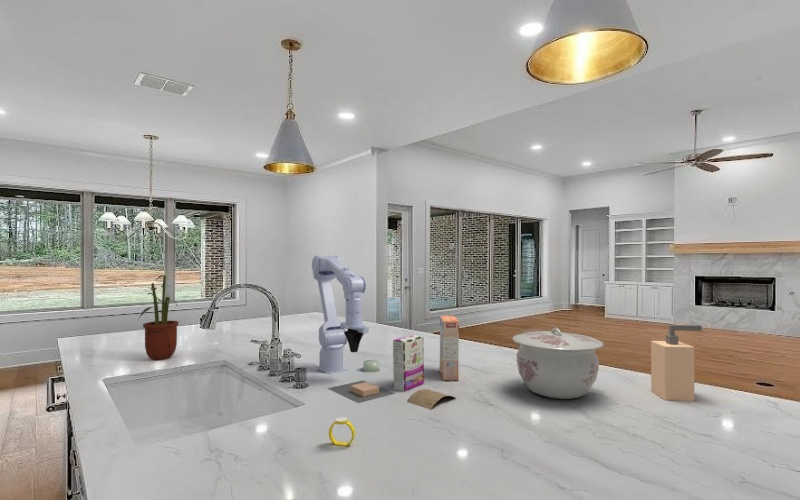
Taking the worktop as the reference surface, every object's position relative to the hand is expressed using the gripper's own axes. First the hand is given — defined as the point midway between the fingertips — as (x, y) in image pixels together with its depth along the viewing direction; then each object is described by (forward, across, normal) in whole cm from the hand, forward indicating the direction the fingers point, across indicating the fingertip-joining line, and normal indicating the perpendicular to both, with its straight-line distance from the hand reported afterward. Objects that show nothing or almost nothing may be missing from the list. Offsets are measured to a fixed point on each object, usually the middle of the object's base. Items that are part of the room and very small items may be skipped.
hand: (354, 351), depth 149 cm
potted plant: (+11, -81, -46) cm, 94 cm away
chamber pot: (+11, +50, +44) cm, 67 cm away
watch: (+11, +39, -29) cm, 50 cm away
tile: (+9, +9, -4) cm, 13 cm away
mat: (+10, +10, -4) cm, 15 cm away
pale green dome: (+10, -8, +13) cm, 19 cm away
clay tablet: (+11, +30, +8) cm, 33 cm away
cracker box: (+11, +15, +31) cm, 36 cm away
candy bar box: (+11, +16, +11) cm, 22 cm away
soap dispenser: (+11, +76, +70) cm, 104 cm away
